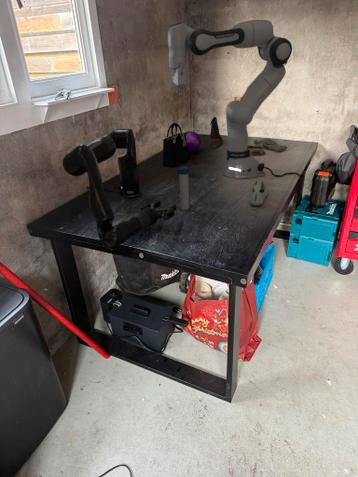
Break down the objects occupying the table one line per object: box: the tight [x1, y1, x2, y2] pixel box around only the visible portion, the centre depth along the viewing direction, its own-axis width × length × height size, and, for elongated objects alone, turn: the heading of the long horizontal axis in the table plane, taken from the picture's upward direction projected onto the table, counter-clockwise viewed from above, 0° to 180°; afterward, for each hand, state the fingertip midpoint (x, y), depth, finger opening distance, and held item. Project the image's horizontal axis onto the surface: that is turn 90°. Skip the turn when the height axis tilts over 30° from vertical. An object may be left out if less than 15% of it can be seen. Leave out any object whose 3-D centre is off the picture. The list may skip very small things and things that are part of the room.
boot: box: [209, 116, 224, 149], centre depth 245 cm, size 9×24×20 cm, turn 168°
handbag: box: [162, 122, 190, 168], centre depth 210 cm, size 21×9×25 cm, turn 148°
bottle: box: [178, 173, 190, 211], centre depth 149 cm, size 4×4×19 cm
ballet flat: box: [249, 179, 269, 207], centre depth 158 cm, size 8×24×8 cm, turn 163°
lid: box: [177, 165, 190, 175], centre depth 145 cm, size 5×5×2 cm
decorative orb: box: [184, 130, 202, 154], centre depth 230 cm, size 15×15×15 cm
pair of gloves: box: [247, 138, 288, 155], centre depth 230 cm, size 30×26×5 cm
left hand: (167, 204), depth 142 cm, fingers open, 8 cm apart
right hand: (179, 95), depth 163 cm, fingers open, 8 cm apart
